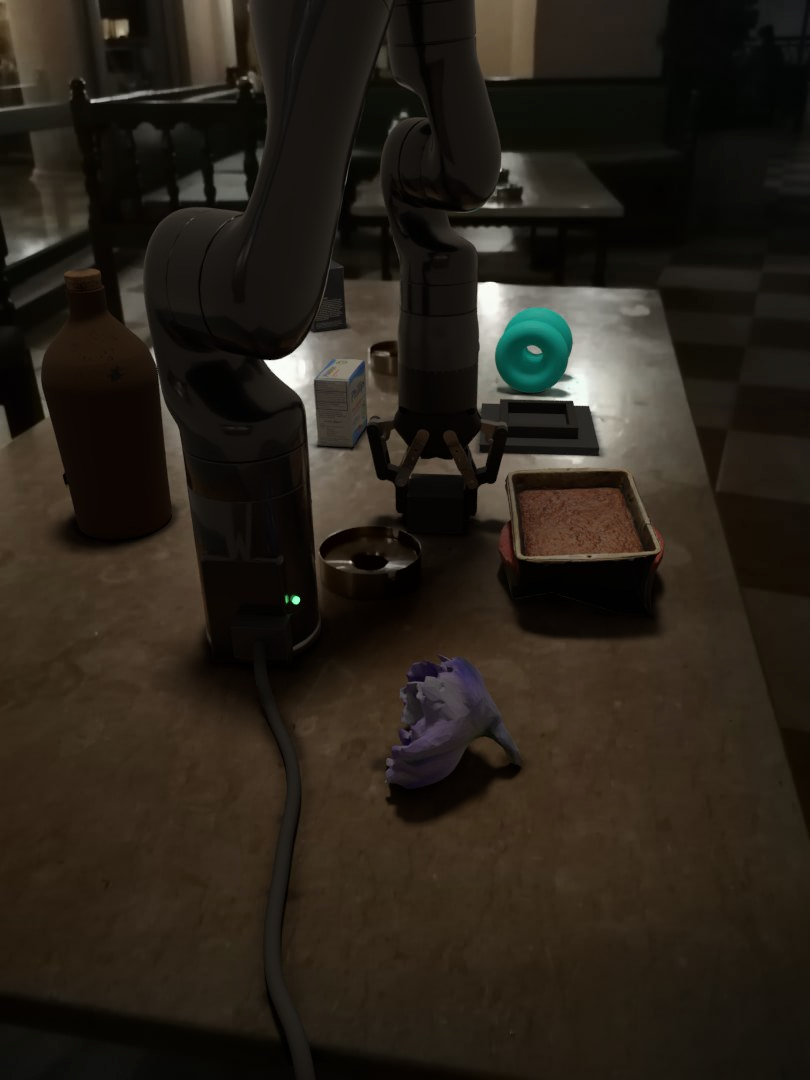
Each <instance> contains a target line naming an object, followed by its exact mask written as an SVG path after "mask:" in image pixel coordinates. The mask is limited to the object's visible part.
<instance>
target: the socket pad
mask: <svg viewBox="0 0 810 1080" xmlns="http://www.w3.org/2000/svg"><path fill="white" fill-rule="evenodd" d="M480 413H481V414H480V416H481V419H485V420H490V421H495V422H497V421H498V420H499V419H504V420H506V421H507V423H508V437H507V441H506V444H505V448H504V452H503V454H536V455H537V454H538V455H571V456H572V455H573V456H574V455H575V456H577V455H578V456H599V455H600V445H599V439H598V436H597V433H596V432H597V431H596V428H595V425H594V421H593V415H592V412H591V408H590V405H575V404H574V401H573V400H556V399H554V400H552V399H551V400H550V399H516V398H515V399H512V398H511V399H510V398H508V399H507V398H500V399H499V403H488V402H487V403H485V402H484V403H483V402H481V411H480ZM489 448H490V444H488V443H486V441H485V435H484V433H483V432H481V431H479V449H478V450H479V453H489Z"/></svg>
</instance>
